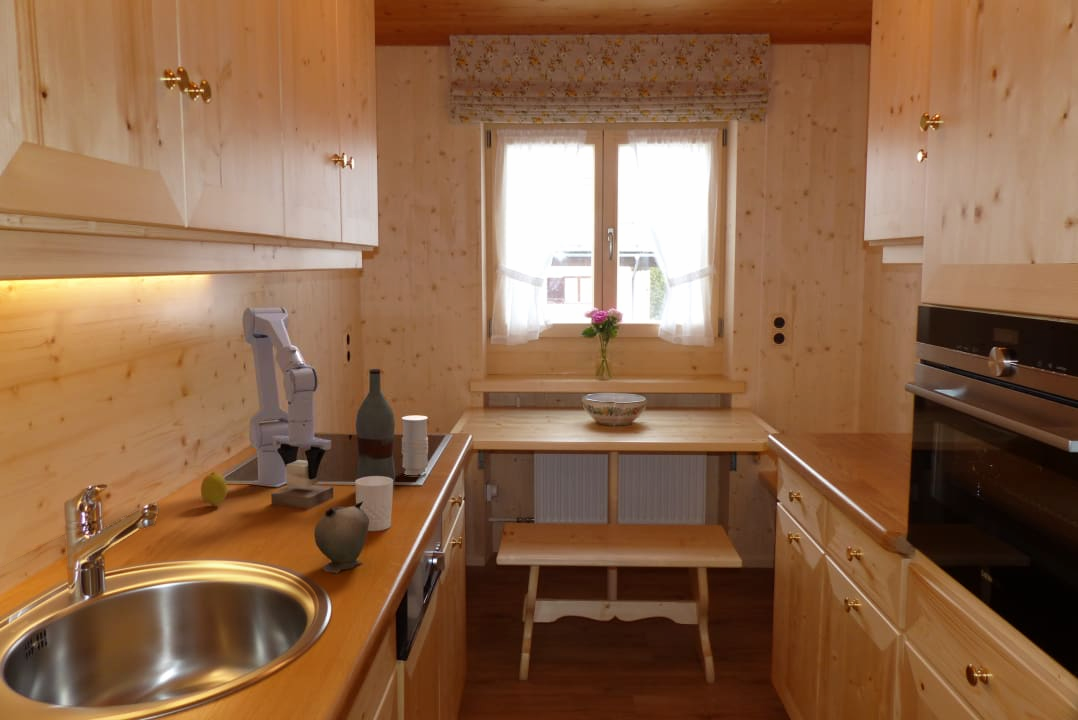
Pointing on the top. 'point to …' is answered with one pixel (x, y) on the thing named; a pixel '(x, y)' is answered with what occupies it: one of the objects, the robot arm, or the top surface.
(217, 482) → the lemon
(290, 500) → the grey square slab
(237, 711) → the top surface
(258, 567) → the top surface
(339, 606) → the top surface
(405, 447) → the stack of cups
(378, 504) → the white cup
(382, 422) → the bottle
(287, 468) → the maple cube
